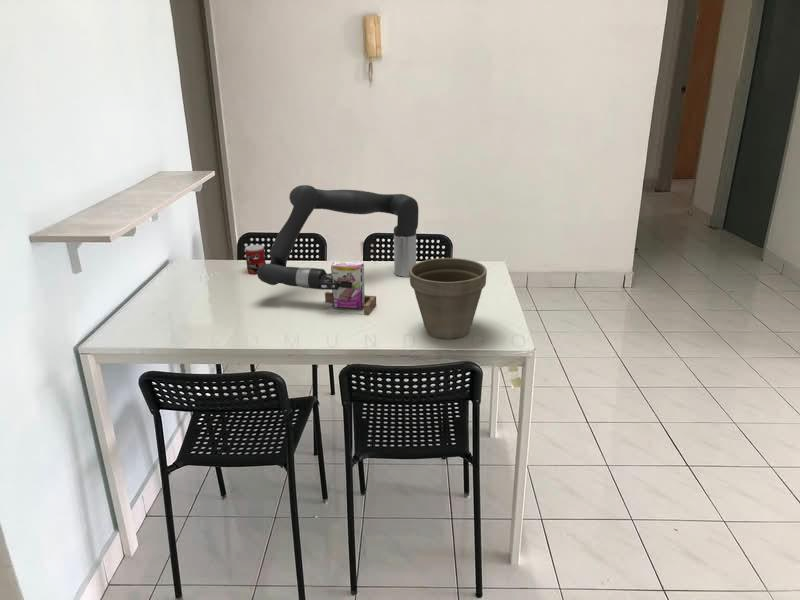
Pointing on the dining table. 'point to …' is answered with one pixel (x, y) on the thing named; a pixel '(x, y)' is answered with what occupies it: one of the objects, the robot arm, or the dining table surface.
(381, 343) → the dining table surface
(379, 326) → the dining table surface
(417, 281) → the plant pot
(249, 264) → the canned food
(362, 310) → the pad
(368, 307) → the brown l-shaped piece
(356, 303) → the candy bar box
